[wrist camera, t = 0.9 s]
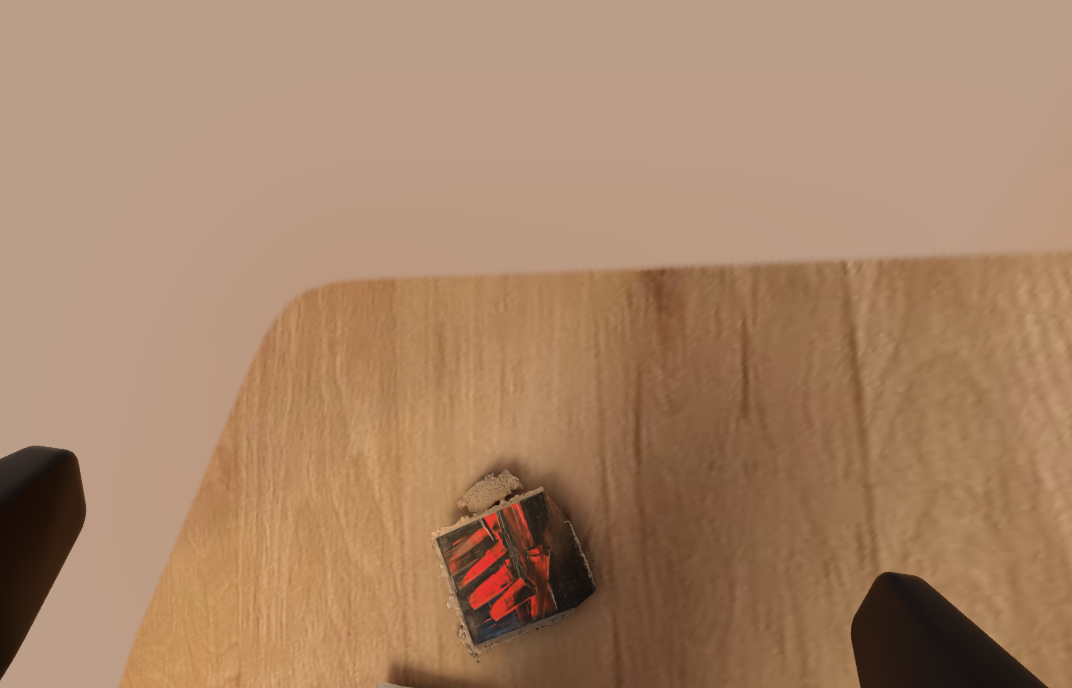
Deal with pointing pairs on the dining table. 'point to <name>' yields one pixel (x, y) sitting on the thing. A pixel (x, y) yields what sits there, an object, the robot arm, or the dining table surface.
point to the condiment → (388, 685)
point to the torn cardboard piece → (510, 563)
